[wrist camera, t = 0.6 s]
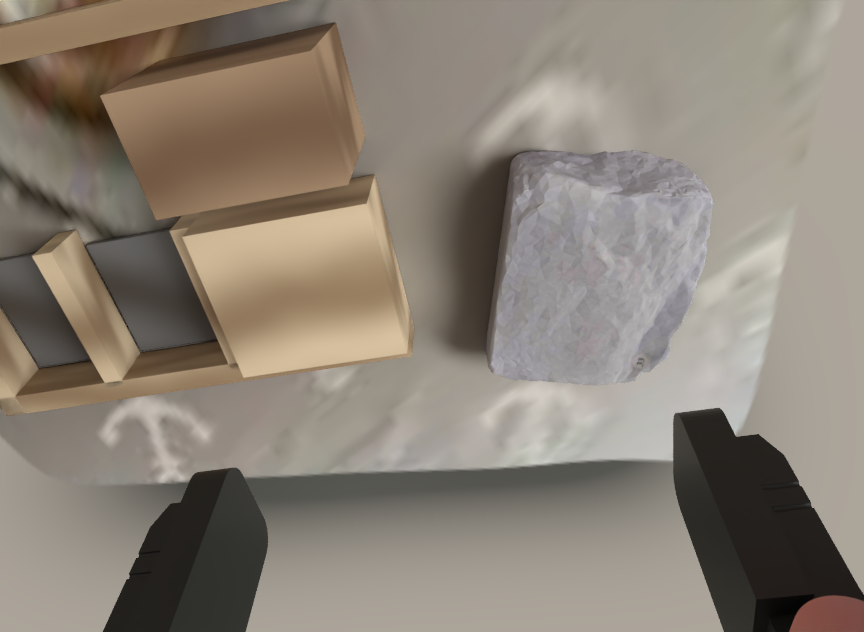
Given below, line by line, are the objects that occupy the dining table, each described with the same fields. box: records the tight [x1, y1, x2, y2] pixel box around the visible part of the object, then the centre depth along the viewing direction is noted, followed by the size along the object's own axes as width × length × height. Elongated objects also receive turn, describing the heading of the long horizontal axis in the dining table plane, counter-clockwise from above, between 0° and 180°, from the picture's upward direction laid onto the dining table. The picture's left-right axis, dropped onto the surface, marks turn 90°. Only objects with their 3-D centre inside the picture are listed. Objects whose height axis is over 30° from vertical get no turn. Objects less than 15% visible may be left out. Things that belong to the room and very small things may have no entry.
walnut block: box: [100, 23, 365, 220], centre depth 28 cm, size 5×8×6 cm, turn 101°
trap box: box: [0, 0, 414, 416], centre depth 32 cm, size 18×23×4 cm
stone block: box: [486, 150, 713, 385], centre depth 33 cm, size 12×5×10 cm
